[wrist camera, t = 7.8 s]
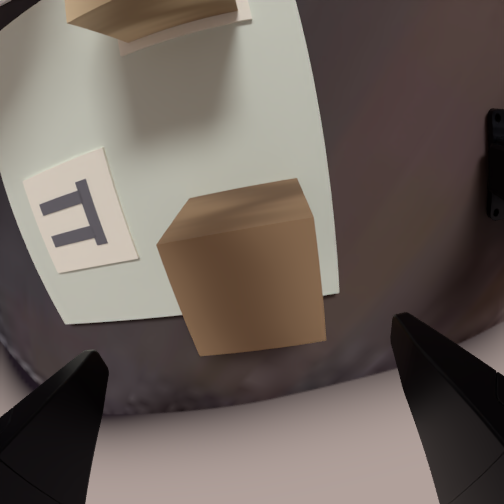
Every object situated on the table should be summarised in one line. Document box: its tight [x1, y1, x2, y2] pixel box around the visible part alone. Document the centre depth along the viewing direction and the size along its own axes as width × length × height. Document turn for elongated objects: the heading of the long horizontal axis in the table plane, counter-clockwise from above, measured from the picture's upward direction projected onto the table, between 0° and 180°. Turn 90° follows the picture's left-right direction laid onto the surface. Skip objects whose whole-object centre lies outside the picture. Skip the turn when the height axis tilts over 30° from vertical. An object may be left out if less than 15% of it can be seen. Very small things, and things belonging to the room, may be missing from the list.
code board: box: [0, 0, 339, 324], centre depth 13 cm, size 18×20×1 cm
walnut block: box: [156, 178, 326, 356], centre depth 13 cm, size 5×5×5 cm
